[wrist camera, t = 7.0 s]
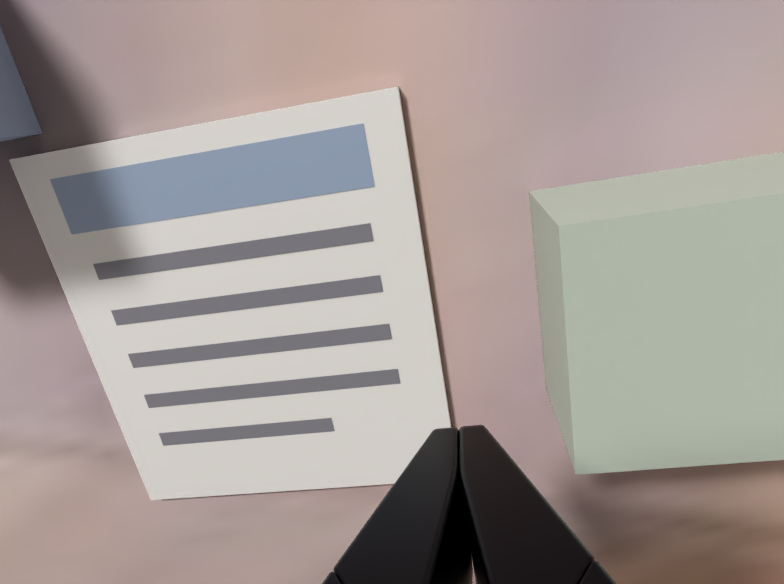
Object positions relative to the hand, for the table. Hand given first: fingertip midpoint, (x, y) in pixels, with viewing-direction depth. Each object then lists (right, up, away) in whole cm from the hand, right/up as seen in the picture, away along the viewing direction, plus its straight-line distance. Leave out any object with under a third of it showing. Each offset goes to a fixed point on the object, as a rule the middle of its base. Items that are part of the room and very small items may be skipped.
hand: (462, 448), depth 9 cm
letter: (-5, +1, +7) cm, 9 cm away
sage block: (+6, +3, +6) cm, 9 cm away
